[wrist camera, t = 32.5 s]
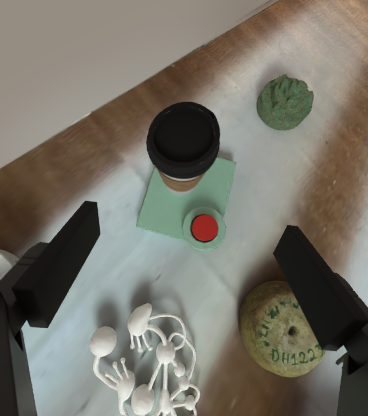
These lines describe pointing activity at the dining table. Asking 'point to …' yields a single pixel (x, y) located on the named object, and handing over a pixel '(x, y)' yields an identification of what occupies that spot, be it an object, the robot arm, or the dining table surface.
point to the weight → (278, 331)
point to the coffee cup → (183, 145)
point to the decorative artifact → (284, 103)
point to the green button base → (188, 205)
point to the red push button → (204, 227)
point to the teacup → (6, 262)
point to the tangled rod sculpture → (143, 394)
